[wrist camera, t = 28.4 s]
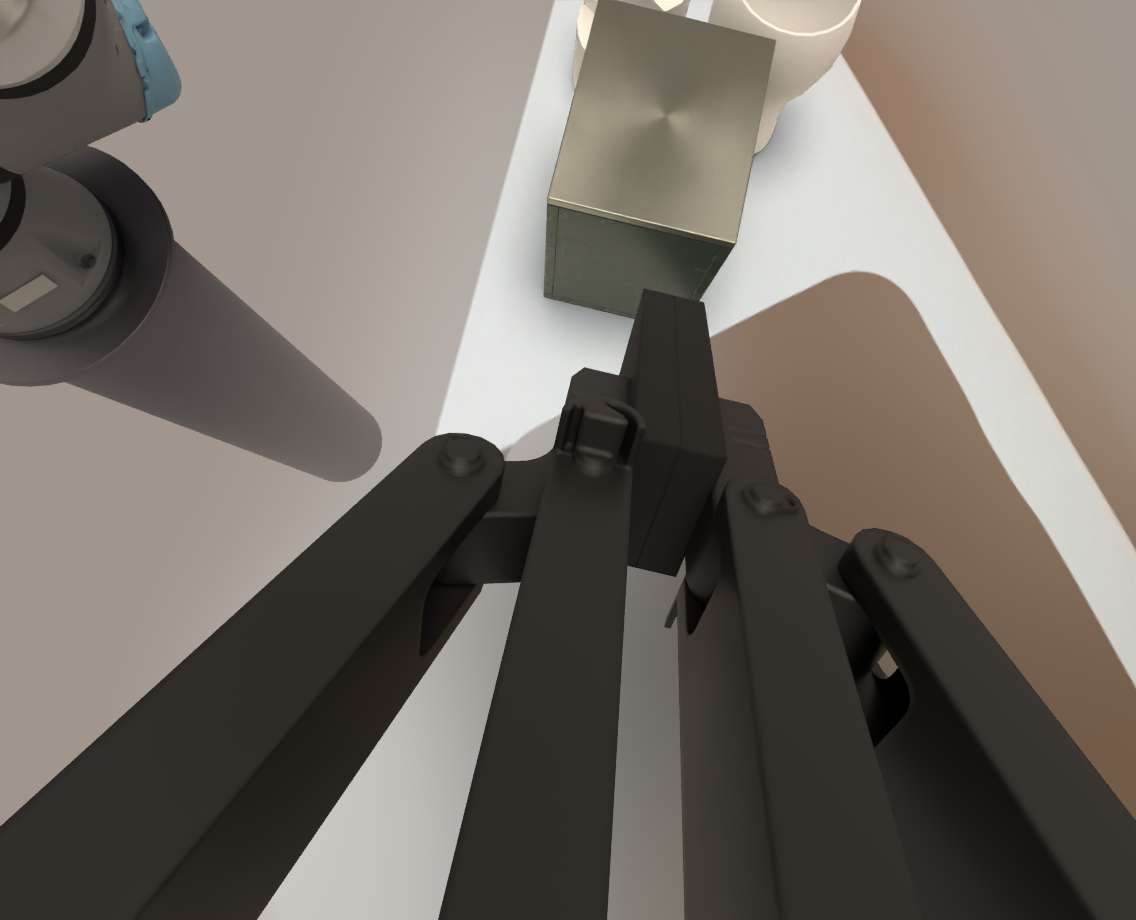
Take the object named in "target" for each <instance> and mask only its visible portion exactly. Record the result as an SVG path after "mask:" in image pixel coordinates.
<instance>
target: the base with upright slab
mask: <svg viewBox="0 0 1136 920" xmlns="http://www.w3.org/2000/svg"><path fill="white" fill-rule="evenodd" d="M618 1H622V2H626V3H630V4H634V5H638V6H642V7H646V8H650V9H654V10H658V11H662V12H666V13H670V14H674V15H678V16H682V17H685V16H686V13H687V9H688V6H689V2H690V0H618ZM597 3H598V0H584V4H583V6H582V8H581V9H580V12H579V17H578V21H577V30H576V43H575V55H574V67H573V86H574V89H575V88H576V84H577V81H578V77H579V73H580V69H581V65H582V61H583V57H584V53H585V49H586V46H587V42H588V38H589V34H590V30H591V26H592V22H593V18H594V14H595V10H596V7H597Z"/></svg>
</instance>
